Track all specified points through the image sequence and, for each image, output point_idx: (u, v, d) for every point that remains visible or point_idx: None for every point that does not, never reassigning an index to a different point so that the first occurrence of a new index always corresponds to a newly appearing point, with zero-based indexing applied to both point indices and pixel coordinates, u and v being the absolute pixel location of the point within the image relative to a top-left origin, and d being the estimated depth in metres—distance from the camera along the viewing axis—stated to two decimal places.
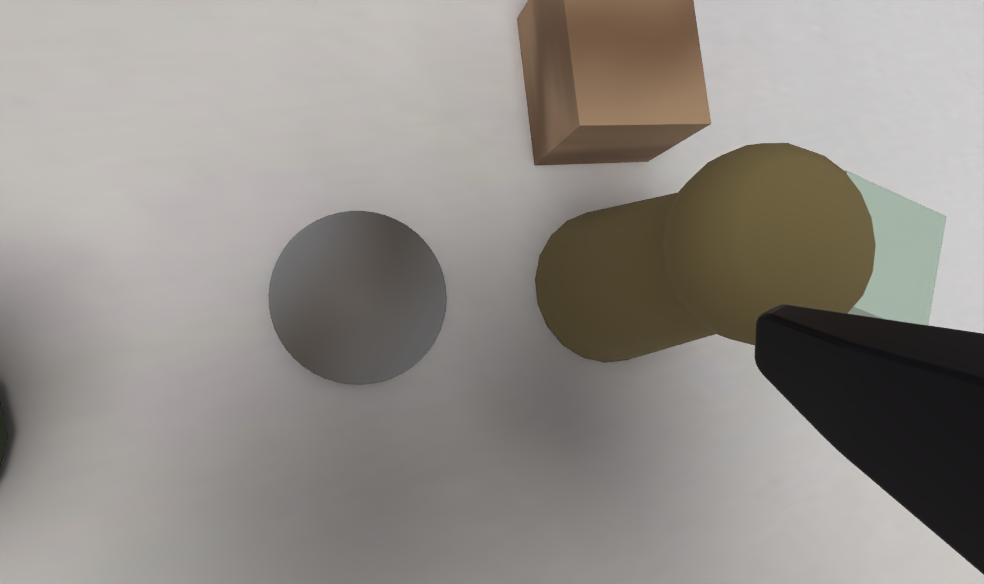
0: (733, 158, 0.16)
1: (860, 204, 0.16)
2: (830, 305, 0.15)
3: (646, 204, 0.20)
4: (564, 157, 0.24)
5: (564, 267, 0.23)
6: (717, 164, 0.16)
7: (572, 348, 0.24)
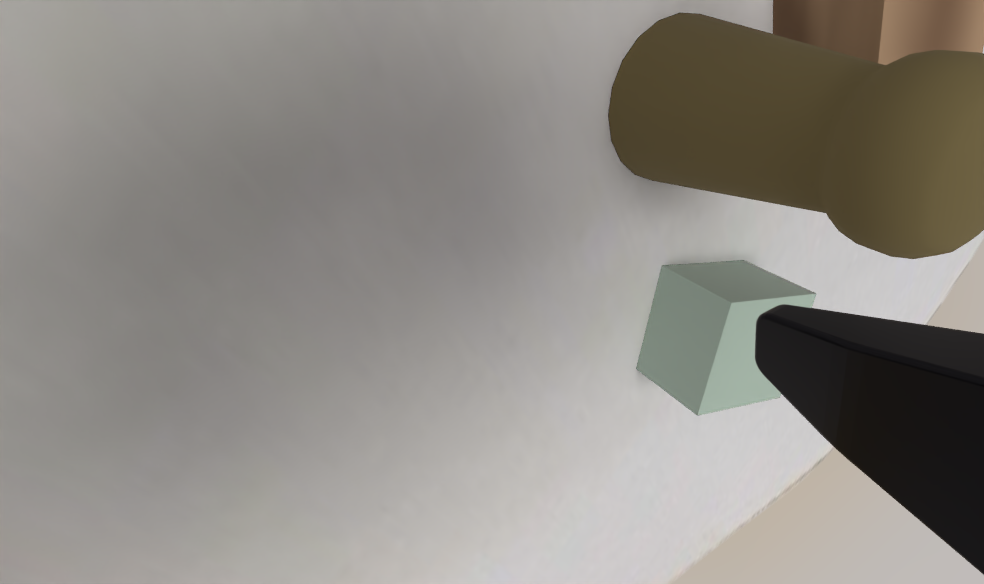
0: None
1: None
2: (937, 211, 0.15)
3: None
4: (793, 17, 0.24)
5: (728, 25, 0.21)
6: None
7: (623, 71, 0.22)
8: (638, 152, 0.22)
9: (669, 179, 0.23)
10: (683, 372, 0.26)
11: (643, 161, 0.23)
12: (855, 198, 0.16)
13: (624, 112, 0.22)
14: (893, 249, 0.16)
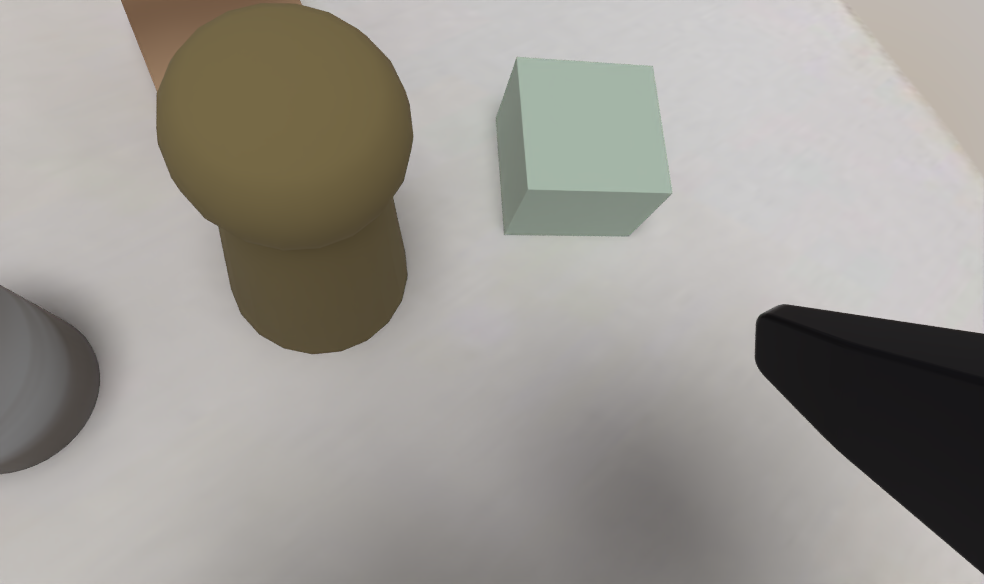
0: None
1: (349, 38, 0.13)
2: (331, 157, 0.12)
3: None
4: None
5: None
6: None
7: (293, 348, 0.21)
8: (371, 322, 0.21)
9: (395, 285, 0.21)
10: (622, 208, 0.22)
11: (380, 314, 0.21)
12: (340, 230, 0.13)
13: (332, 344, 0.21)
14: (396, 163, 0.13)
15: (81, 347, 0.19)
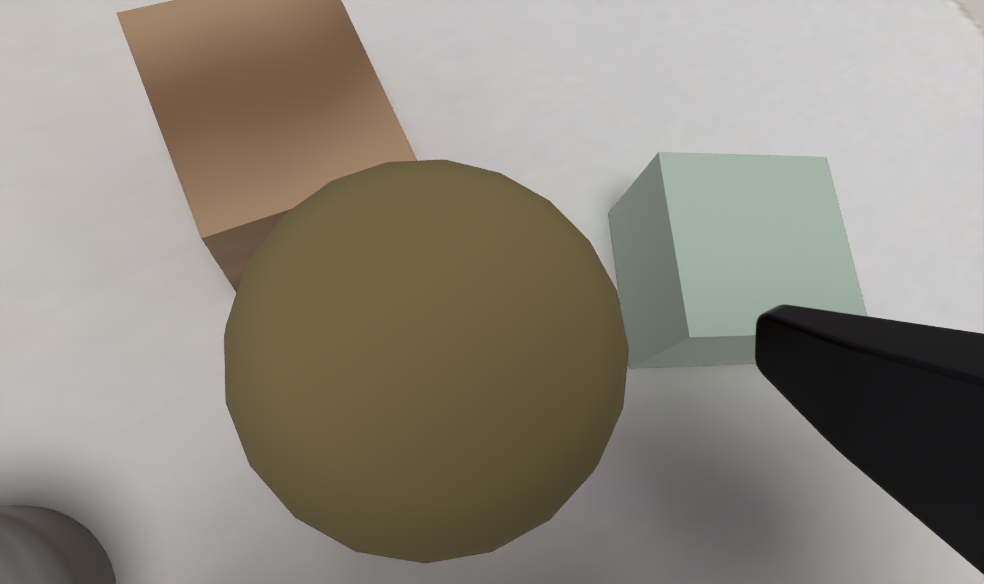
0: (272, 229, 0.08)
1: (542, 222, 0.08)
2: (535, 453, 0.07)
3: None
4: None
5: None
6: None
7: None
8: None
9: None
10: None
11: None
12: None
13: None
14: (615, 422, 0.08)
15: (93, 567, 0.14)
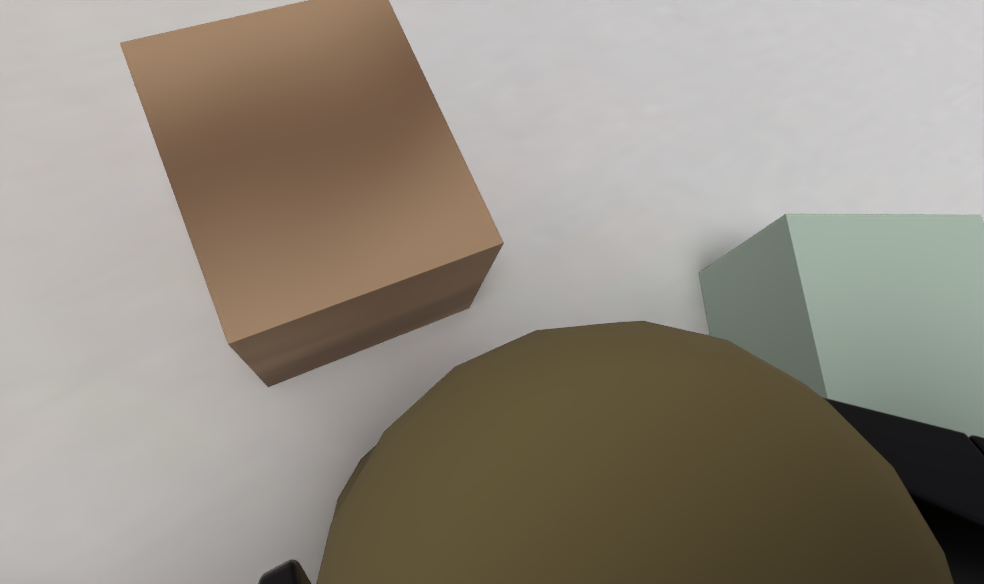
0: (386, 462, 0.05)
1: (843, 459, 0.05)
2: None
3: None
4: (303, 363, 0.14)
5: None
6: (361, 481, 0.05)
7: None
8: None
9: None
10: None
11: None
12: None
13: None
14: None
15: None
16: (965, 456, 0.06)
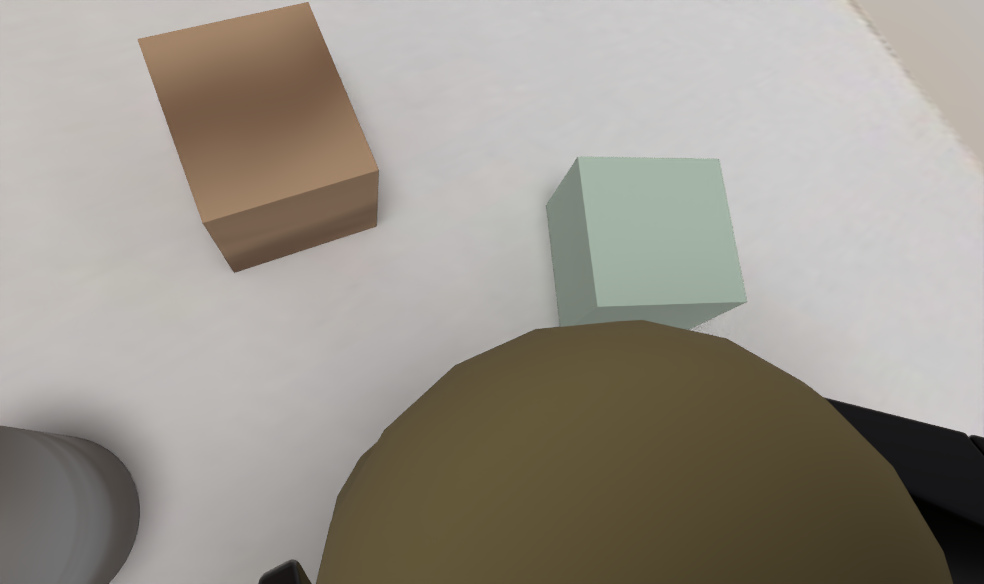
0: (385, 461, 0.05)
1: (841, 457, 0.05)
2: None
3: None
4: (256, 254, 0.21)
5: None
6: (361, 480, 0.05)
7: None
8: None
9: None
10: (690, 312, 0.21)
11: None
12: None
13: None
14: None
15: (121, 481, 0.18)
16: (965, 456, 0.06)
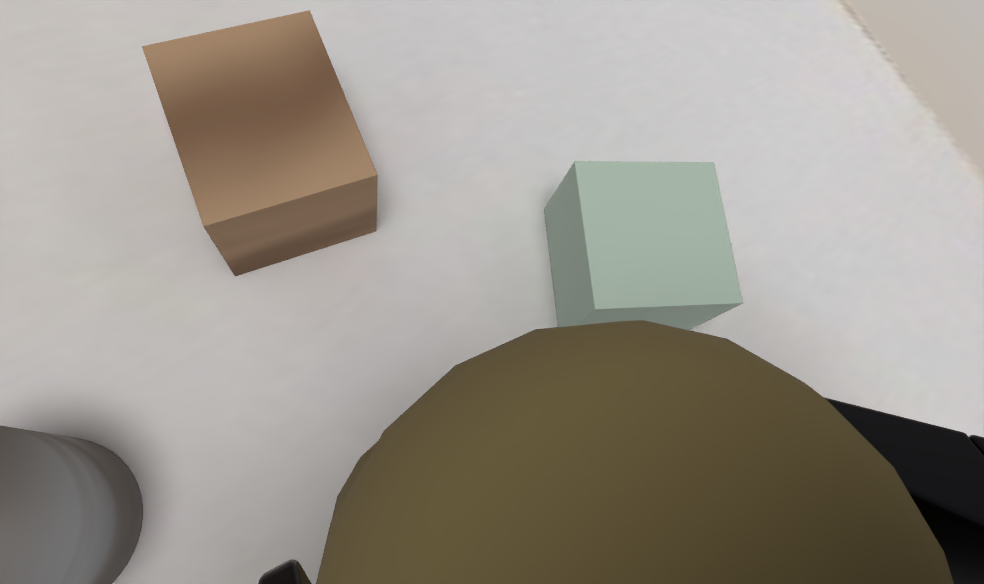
0: (385, 461, 0.05)
1: (843, 459, 0.05)
2: None
3: None
4: (257, 258, 0.21)
5: None
6: (361, 481, 0.05)
7: None
8: None
9: None
10: (687, 314, 0.21)
11: None
12: None
13: None
14: None
15: (125, 482, 0.18)
16: (965, 456, 0.06)
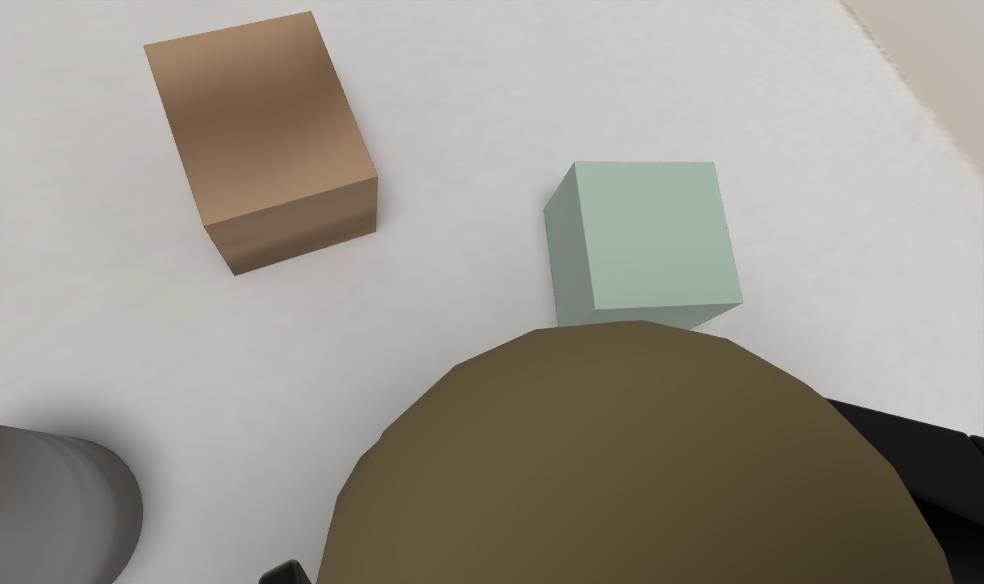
0: (386, 462, 0.05)
1: (843, 459, 0.05)
2: None
3: None
4: (257, 258, 0.21)
5: None
6: (361, 481, 0.05)
7: None
8: None
9: None
10: (687, 314, 0.21)
11: None
12: None
13: None
14: None
15: (125, 482, 0.18)
16: (965, 456, 0.06)
